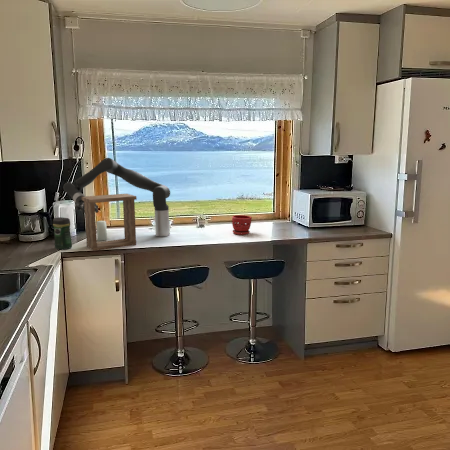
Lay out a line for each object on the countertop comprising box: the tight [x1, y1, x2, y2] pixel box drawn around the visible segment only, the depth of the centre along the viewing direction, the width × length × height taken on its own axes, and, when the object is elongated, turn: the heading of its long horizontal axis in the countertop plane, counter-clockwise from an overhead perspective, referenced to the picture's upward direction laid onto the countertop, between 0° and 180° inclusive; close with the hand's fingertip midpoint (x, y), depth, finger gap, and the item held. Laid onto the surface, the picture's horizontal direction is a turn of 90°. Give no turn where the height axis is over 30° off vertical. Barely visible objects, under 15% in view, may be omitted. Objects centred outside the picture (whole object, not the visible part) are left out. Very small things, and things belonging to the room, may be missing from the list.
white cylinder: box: [96, 220, 108, 242], centre depth 277 cm, size 6×6×12 cm
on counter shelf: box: [82, 193, 138, 252], centre depth 260 cm, size 16×28×30 cm, turn 124°
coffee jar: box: [52, 216, 73, 250], centre depth 255 cm, size 10×8×19 cm
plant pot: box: [231, 214, 252, 236], centre depth 295 cm, size 13×13×12 cm
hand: (91, 211), depth 276 cm, fingers open, 8 cm apart
